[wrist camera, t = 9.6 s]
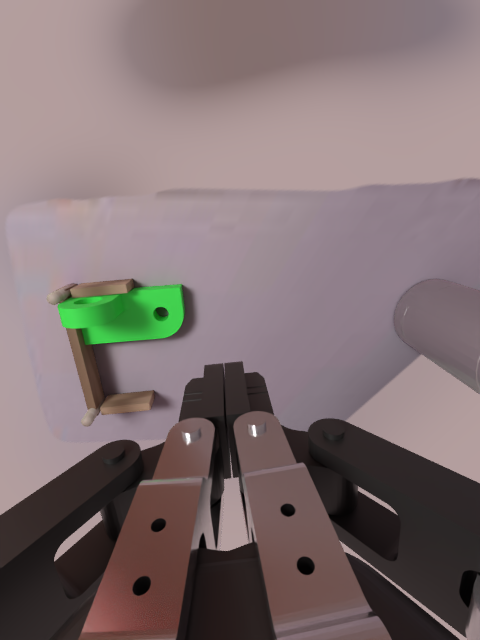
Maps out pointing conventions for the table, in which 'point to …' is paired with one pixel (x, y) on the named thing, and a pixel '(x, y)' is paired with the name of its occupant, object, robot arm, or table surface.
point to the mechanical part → (125, 314)
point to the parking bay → (87, 359)
